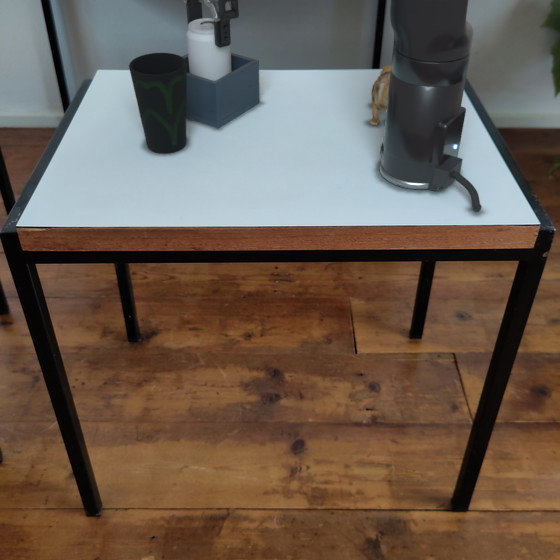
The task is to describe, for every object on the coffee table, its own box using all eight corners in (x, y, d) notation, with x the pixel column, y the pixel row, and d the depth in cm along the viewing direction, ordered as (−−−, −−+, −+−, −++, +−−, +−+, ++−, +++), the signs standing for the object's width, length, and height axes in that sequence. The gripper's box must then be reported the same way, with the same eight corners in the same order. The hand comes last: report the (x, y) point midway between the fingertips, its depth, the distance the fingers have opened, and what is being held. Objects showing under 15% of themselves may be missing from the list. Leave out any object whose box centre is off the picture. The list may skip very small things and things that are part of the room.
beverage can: (235, 93, 115) (232, 17, 108) (229, 111, 110) (225, 32, 103) (195, 91, 116) (190, 15, 108) (188, 109, 111) (181, 31, 103)
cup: (129, 151, 102) (118, 70, 95) (155, 128, 108) (145, 49, 100) (178, 161, 100) (170, 78, 93) (202, 136, 106) (196, 57, 98)
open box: (259, 103, 115) (259, 60, 110) (217, 128, 108) (215, 84, 104) (207, 86, 119) (204, 45, 115) (164, 110, 113) (159, 67, 108)
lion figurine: (406, 137, 106) (413, 78, 100) (369, 136, 106) (374, 77, 101) (399, 94, 117) (406, 39, 112) (366, 93, 118) (371, 38, 112)
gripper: (252, -77, 93) (255, 47, 104) (201, -97, 103) (208, 18, 113) (200, -69, 90) (209, 58, 100) (152, -91, 100) (164, 27, 110)
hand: (208, 36), depth 107 cm, fingers open, 8 cm apart
